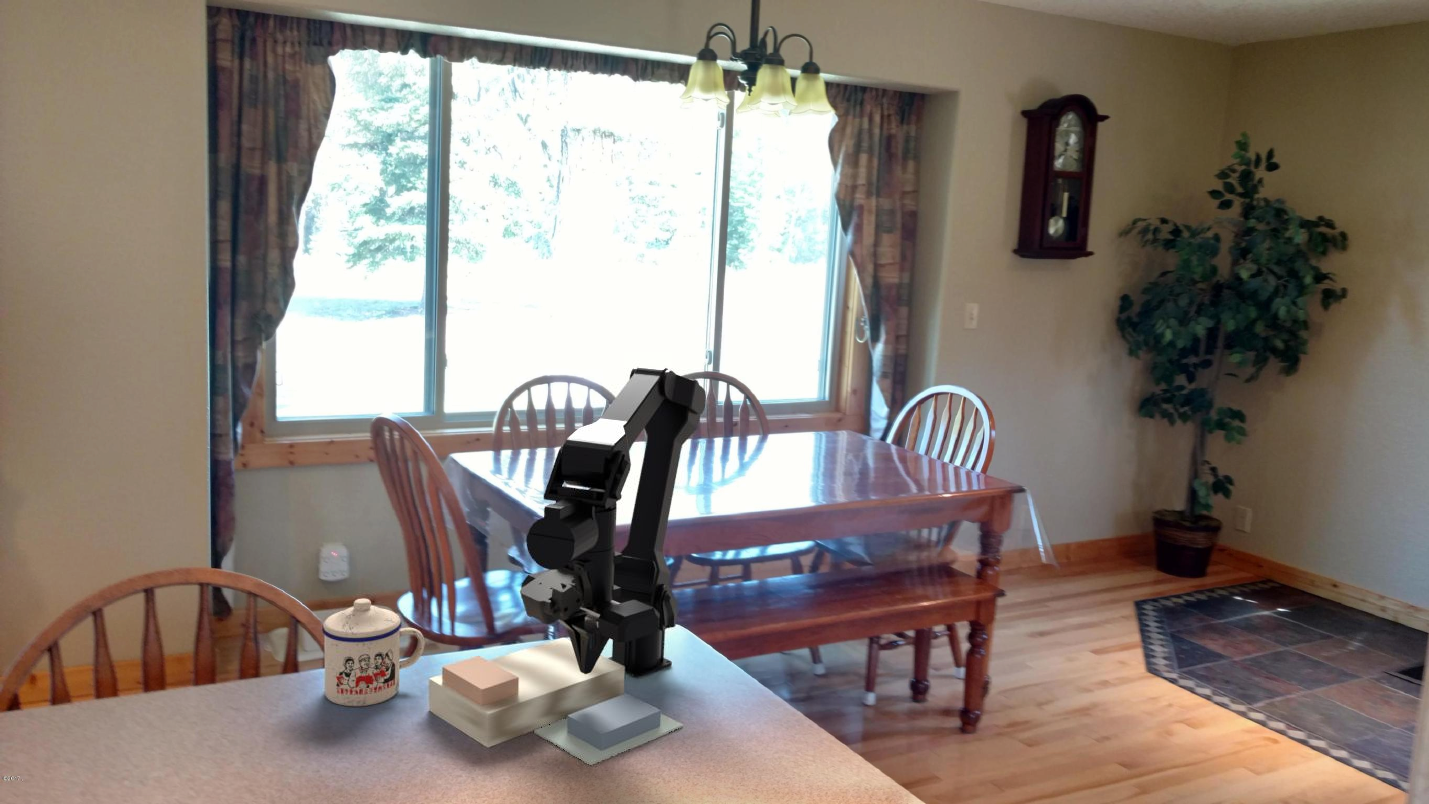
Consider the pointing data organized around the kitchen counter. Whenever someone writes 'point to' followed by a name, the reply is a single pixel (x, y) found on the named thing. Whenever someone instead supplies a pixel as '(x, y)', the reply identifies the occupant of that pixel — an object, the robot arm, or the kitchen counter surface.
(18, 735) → the kitchen counter surface
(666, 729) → the mat
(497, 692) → the terracotta tile
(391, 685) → the teacup with lid
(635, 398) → the robot arm
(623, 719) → the grey-blue rectangular block
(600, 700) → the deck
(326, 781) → the kitchen counter surface
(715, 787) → the kitchen counter surface
